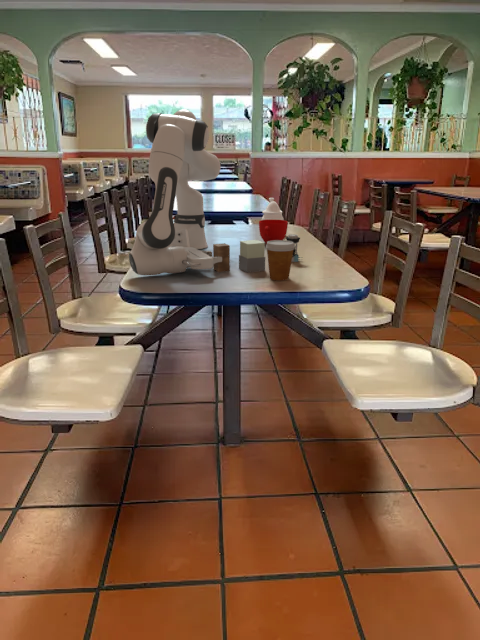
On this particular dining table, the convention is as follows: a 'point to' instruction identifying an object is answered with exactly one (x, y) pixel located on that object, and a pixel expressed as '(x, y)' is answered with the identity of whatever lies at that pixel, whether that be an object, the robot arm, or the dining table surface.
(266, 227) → the ceramic cup
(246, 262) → the tower base block
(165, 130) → the robot arm
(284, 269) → the disposable coffee cup
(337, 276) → the dining table surface
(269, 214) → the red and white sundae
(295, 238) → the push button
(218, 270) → the walnut post
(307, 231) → the dining table surface
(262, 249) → the tower top block
